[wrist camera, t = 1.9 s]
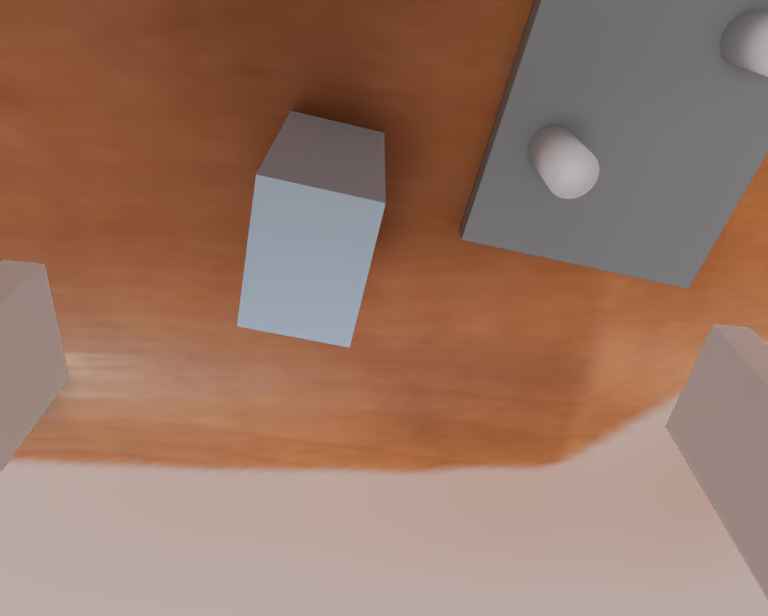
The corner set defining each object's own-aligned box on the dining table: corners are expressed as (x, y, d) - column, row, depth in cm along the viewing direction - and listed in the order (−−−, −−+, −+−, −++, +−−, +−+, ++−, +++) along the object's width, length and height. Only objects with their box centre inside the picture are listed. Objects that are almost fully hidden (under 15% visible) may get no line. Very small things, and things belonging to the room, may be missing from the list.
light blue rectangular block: (272, 231, 34) (237, 326, 26) (290, 110, 31) (256, 174, 22) (357, 249, 35) (349, 347, 26) (384, 132, 31) (385, 203, 23)
